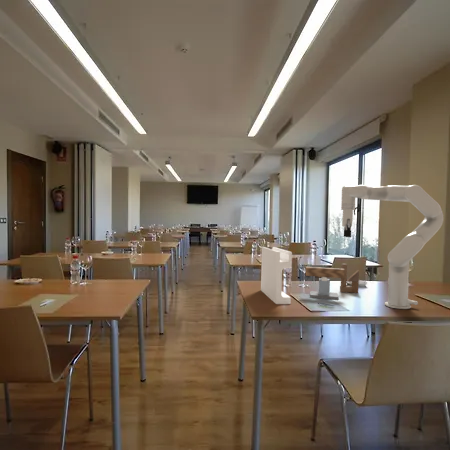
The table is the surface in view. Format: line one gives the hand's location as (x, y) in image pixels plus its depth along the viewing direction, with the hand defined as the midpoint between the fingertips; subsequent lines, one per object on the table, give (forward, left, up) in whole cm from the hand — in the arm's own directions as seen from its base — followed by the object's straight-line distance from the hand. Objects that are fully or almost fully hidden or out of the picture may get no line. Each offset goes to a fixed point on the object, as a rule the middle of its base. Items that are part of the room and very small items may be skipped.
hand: (347, 236), depth 198 cm
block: (+40, +8, -37) cm, 55 cm away
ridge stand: (+12, -3, -36) cm, 38 cm away
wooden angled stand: (-4, -22, -37) cm, 43 cm away
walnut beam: (+12, -3, -24) cm, 27 cm away
